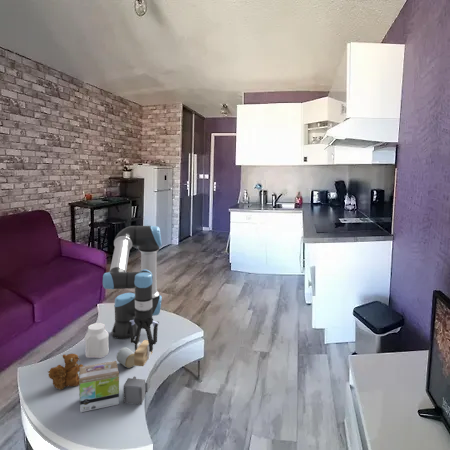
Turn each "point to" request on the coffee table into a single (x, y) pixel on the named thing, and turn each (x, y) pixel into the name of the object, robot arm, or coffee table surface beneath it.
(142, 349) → the tan rectangular block
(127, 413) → the coffee table surface
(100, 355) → the jar
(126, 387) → the gray bracket pieces
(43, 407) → the coffee table surface
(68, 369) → the stuffed squirrel
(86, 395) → the tea box
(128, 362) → the ceramic mug
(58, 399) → the coffee table surface
